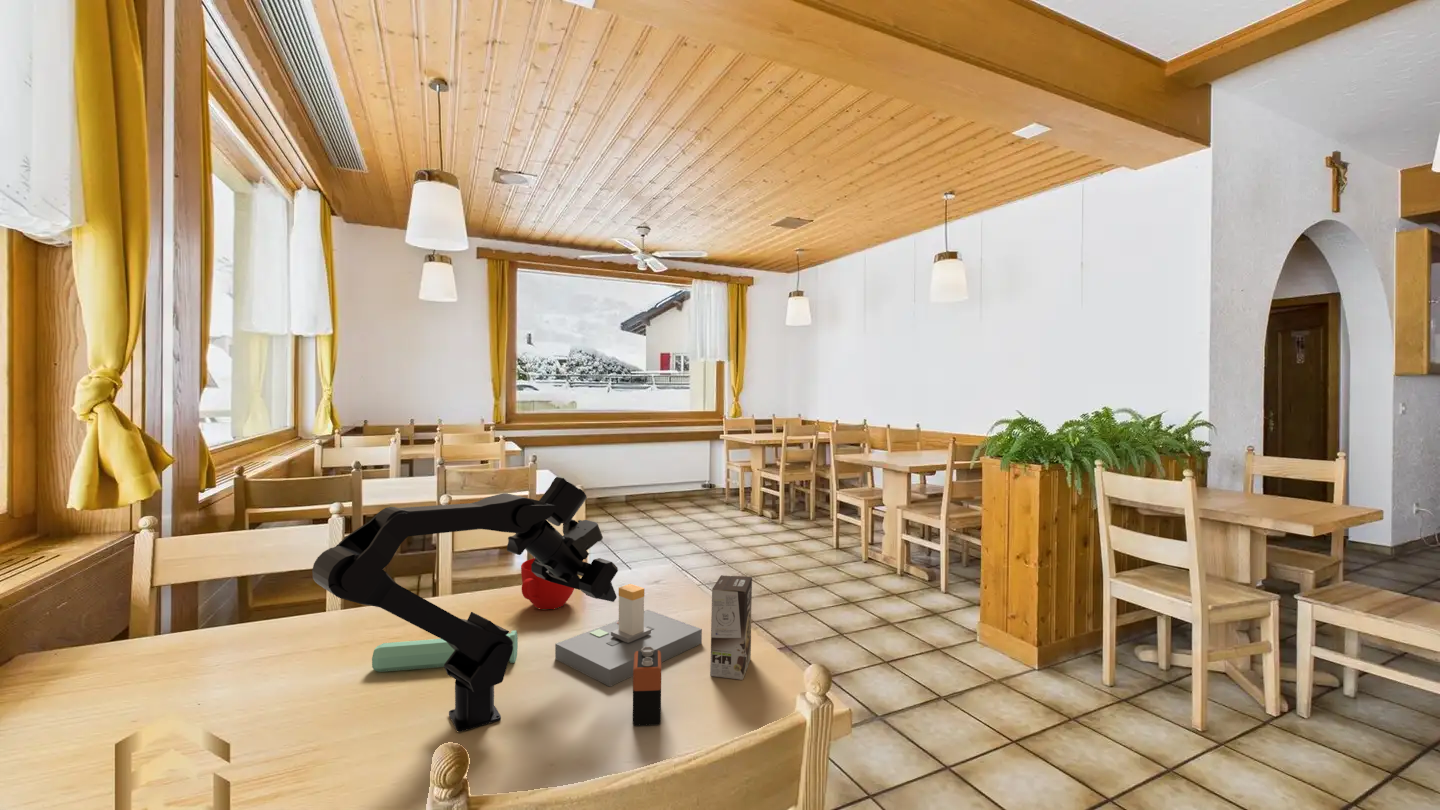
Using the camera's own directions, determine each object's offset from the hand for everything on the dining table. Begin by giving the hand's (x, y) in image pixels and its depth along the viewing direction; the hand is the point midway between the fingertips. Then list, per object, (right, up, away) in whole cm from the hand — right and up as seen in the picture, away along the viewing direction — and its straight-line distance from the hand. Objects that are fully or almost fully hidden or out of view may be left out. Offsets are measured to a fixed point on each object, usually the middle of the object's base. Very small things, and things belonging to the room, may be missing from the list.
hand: (598, 593), depth 115 cm
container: (-28, -14, 0) cm, 32 cm away
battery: (+11, -15, -17) cm, 25 cm away
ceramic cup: (-18, -12, +29) cm, 36 cm away
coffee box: (+25, -14, 0) cm, 28 cm away
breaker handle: (+5, -10, +7) cm, 13 cm away
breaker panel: (+5, -13, +7) cm, 16 cm away
